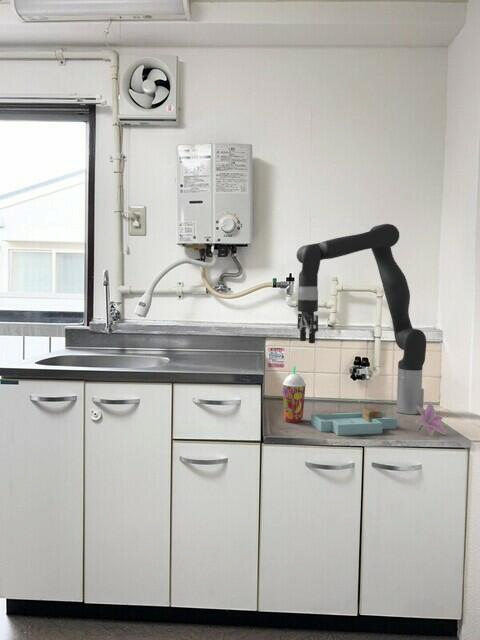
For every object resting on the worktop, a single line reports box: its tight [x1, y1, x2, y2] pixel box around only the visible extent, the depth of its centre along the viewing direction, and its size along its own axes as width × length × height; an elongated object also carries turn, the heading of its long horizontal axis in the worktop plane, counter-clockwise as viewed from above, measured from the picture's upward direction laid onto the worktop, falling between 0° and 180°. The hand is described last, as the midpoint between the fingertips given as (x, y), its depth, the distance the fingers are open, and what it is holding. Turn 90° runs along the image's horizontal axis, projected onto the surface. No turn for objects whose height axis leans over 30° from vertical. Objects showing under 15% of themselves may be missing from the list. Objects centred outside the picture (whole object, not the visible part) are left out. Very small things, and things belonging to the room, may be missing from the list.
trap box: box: [310, 411, 398, 436], centre depth 182 cm, size 28×15×4 cm, turn 102°
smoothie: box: [282, 365, 307, 424], centre depth 190 cm, size 8×8×20 cm
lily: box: [416, 401, 447, 437], centre depth 178 cm, size 12×12×10 cm
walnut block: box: [362, 407, 383, 422], centre depth 186 cm, size 5×5×4 cm
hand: (307, 342), depth 196 cm, fingers open, 8 cm apart
